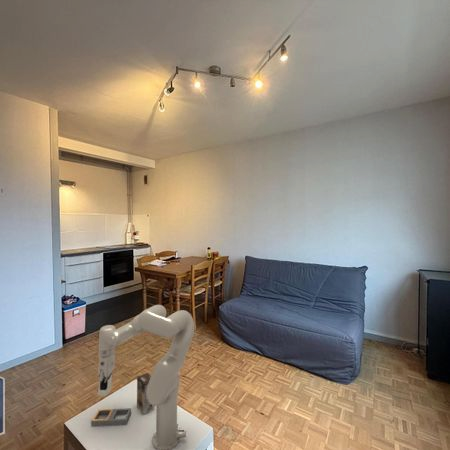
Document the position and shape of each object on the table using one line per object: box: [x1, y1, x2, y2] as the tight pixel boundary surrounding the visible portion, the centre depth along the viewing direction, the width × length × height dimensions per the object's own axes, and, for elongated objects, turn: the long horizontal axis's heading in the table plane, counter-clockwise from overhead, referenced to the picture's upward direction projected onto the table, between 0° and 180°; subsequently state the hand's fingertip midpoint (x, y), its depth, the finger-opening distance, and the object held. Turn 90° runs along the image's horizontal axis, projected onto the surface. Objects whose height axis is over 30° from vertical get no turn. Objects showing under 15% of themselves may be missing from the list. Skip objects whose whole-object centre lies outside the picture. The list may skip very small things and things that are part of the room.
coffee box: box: [136, 372, 155, 416], centre depth 134 cm, size 9×6×16 cm
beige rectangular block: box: [97, 374, 113, 397], centre depth 126 cm, size 4×4×8 cm
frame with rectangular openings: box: [90, 407, 132, 427], centre depth 125 cm, size 17×8×3 cm, turn 94°
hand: (105, 385), depth 126 cm, fingers closed on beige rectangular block, 4 cm apart
